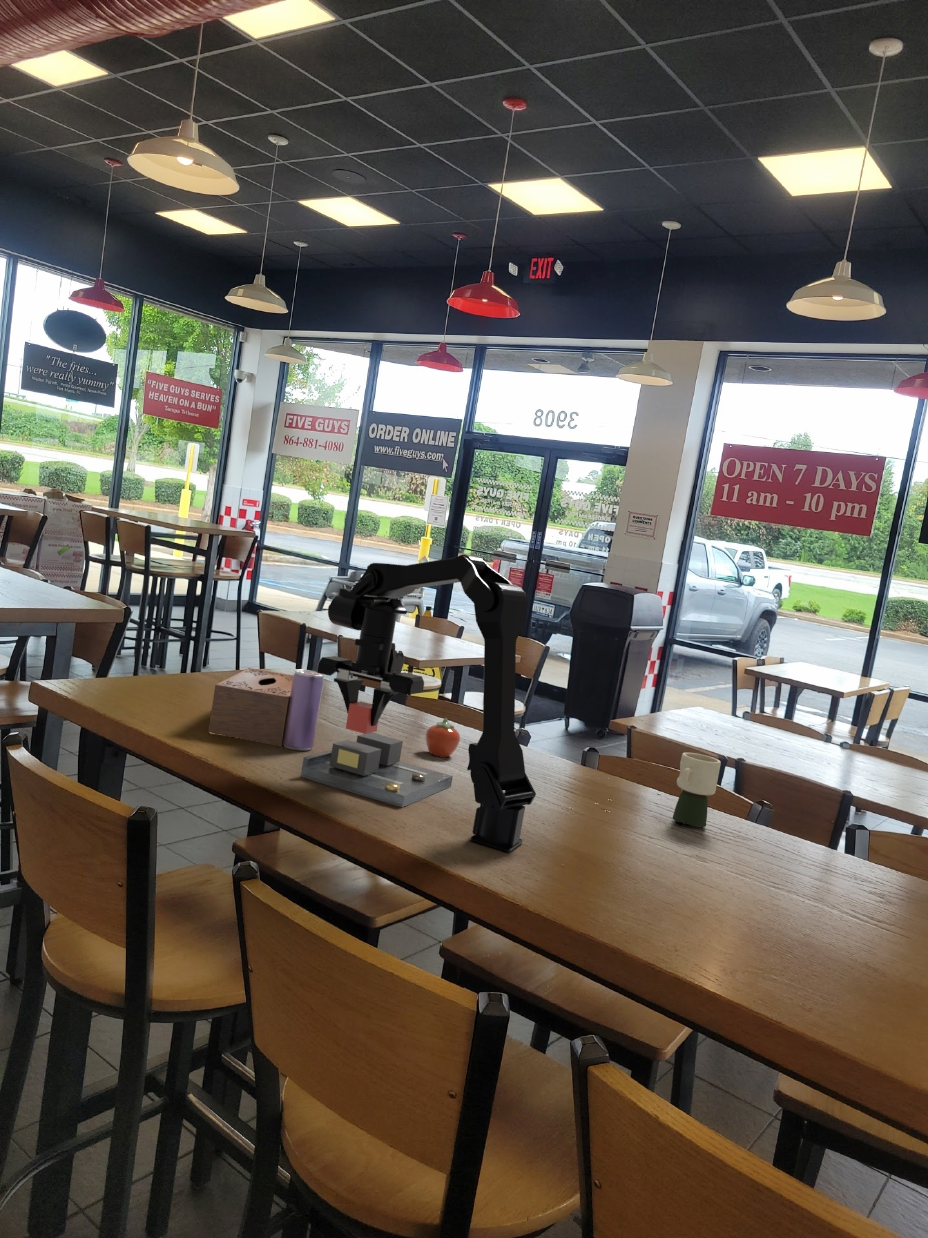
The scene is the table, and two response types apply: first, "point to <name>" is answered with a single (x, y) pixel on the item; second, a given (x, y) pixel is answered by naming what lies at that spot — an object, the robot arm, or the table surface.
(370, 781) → the breaker panel
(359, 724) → the cap
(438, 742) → the tomato
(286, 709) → the tissue box cover
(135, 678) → the table surface
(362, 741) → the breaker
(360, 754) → the block
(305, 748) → the beverage can
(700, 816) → the character mug
